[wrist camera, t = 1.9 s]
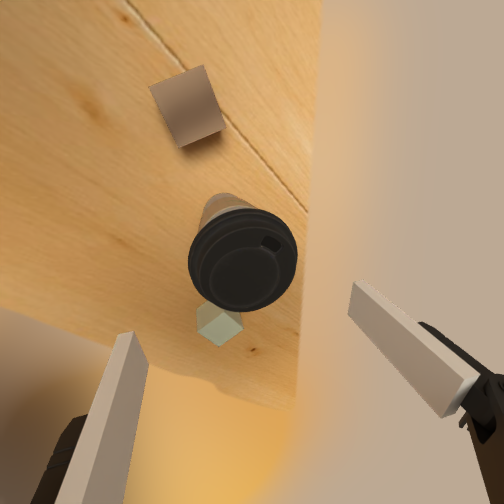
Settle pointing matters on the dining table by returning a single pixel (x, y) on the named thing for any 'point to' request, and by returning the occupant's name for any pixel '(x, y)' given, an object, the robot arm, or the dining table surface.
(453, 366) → the robot arm
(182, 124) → the walnut cube
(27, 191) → the dining table surface
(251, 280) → the coffee cup
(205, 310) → the sage cube
